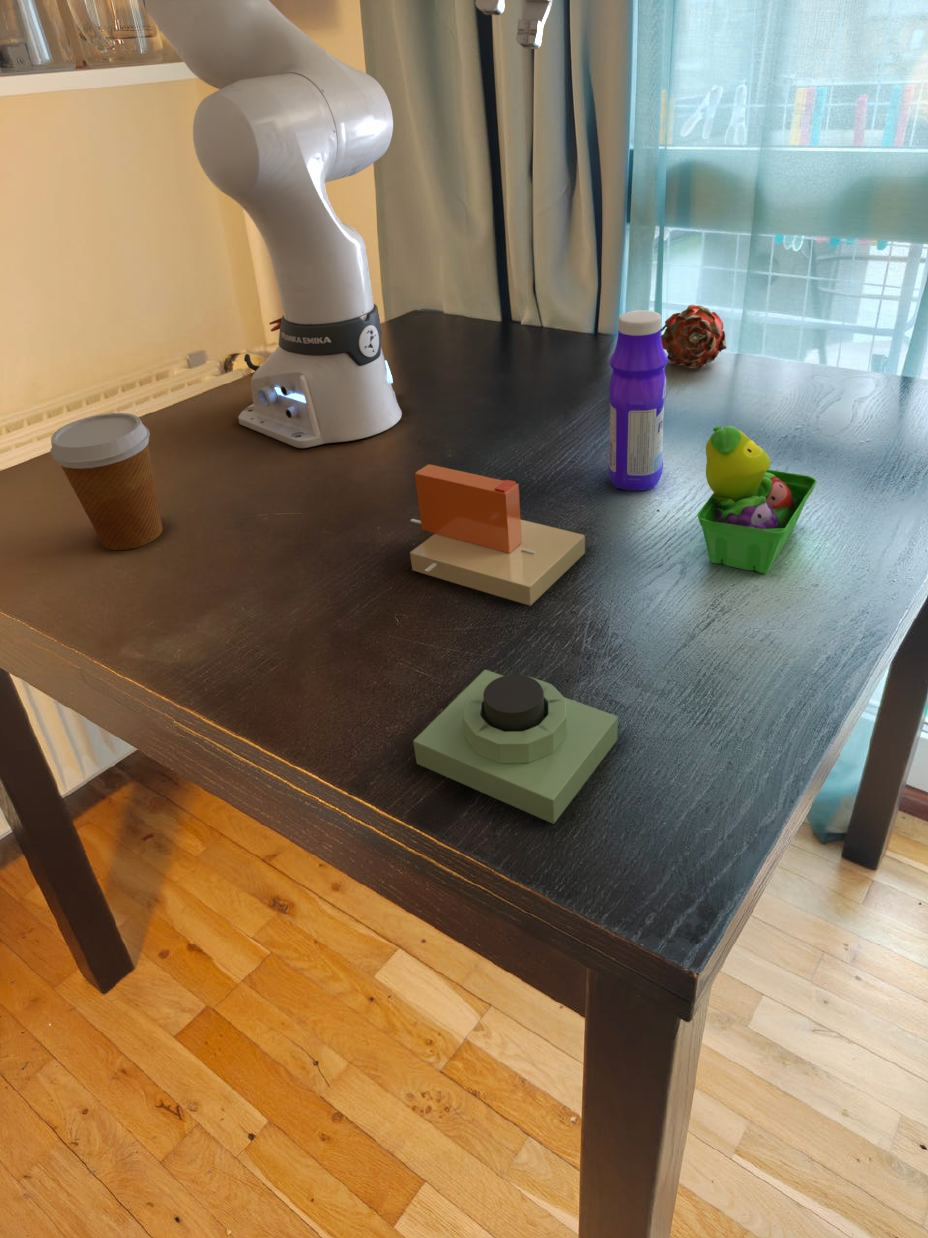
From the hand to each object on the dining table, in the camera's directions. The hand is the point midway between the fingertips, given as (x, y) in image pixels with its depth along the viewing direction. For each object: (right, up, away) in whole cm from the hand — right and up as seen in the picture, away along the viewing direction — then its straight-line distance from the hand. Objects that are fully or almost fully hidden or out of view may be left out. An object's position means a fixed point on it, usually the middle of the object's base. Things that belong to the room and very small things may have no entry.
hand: (509, 30), depth 70 cm
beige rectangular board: (-2, -41, +13) cm, 43 cm away
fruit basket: (+23, -40, +12) cm, 48 cm away
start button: (0, -53, -11) cm, 54 cm away
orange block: (-3, -39, +13) cm, 41 cm away
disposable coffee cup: (-39, -38, +23) cm, 59 cm away
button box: (0, -56, -9) cm, 57 cm away
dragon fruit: (+28, -11, +52) cm, 60 cm away
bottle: (+15, -32, +24) cm, 43 cm away
